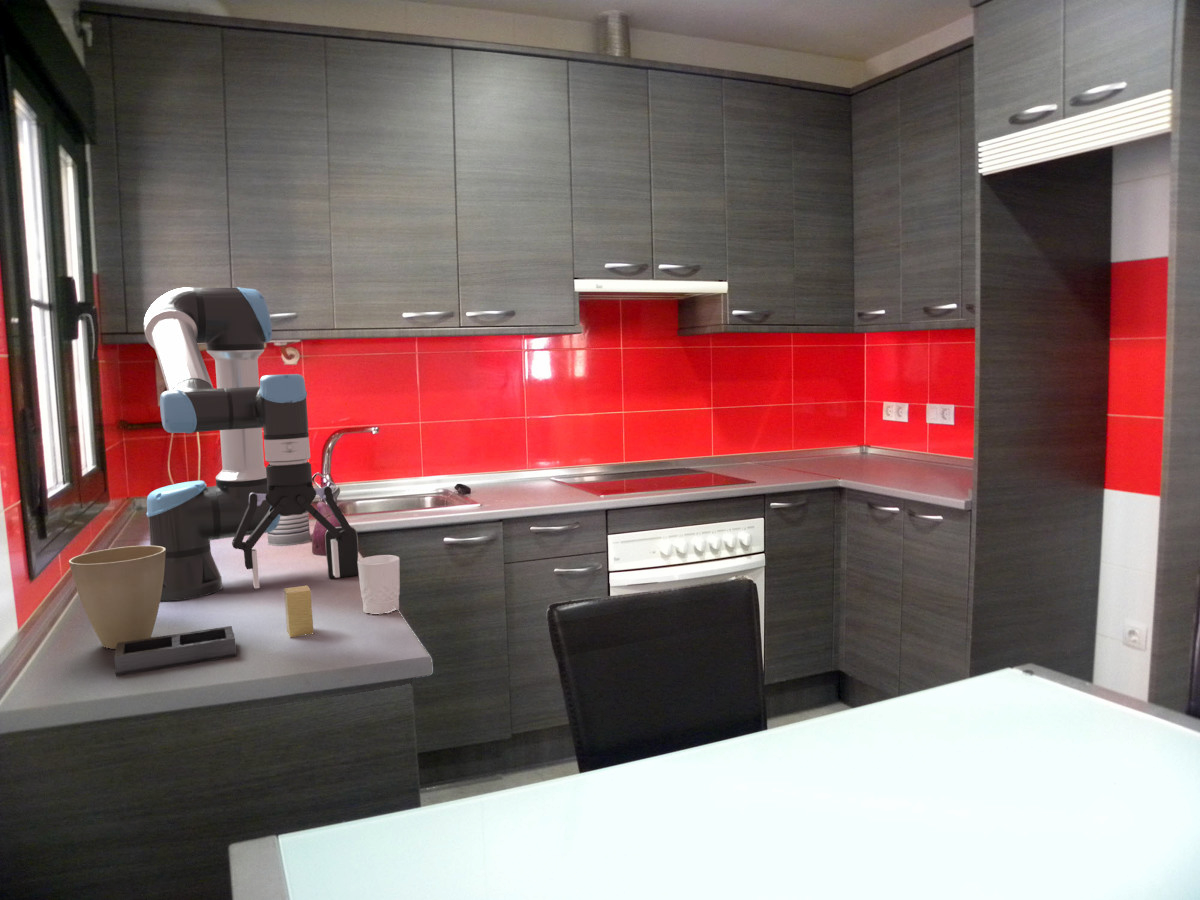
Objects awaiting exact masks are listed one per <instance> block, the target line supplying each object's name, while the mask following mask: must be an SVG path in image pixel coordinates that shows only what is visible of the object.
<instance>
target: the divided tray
mask: <svg viewBox="0 0 1200 900" xmlns="http://www.w3.org/2000/svg"><path fill="white" fill-rule="evenodd" d="M236 645H237V644H236V637H235V634H234V629H233V626H232V625H229V626H222V627H215V628H209V629H208V628H207V629H202V630H194V631H188V632H181V633H174V634H169V635H168V634H167V635H160V636H154V637H151V638H146V639H140V640H133V641H126V642H120V643H117V645H116V649H115V653H114V669H115V676H116V677H118V676H124V675H130V674H138V673H142V672H149V671H154V670H161V669H166V668H173V667H179V666H185V665H192V664H198V663H204V662H209V661H216V660H217V661H218V660H223V659H229V658H233V657H235V658H236V657H237V649H236V648H237V647H236Z"/></svg>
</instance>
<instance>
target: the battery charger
mask: <svg viewBox="0 0 1200 900" xmlns="http://www.w3.org/2000/svg"><path fill="white" fill-rule="evenodd" d="M350 526H351V528H352V530H353V535H351V536H348V537H346V538H345V539H344V541H343V542H344V557H341V558H339V571H340V577H335V576H334V575H333V567H332V552H331V539H335V537H334V536H333V535H332V534H331V533H330V532H329V531H328V530H327V531H326V534H325V546H326V555H325V556H326V563H327V578H328V579H338V578H339V579H340V578H347V577H356V576H359V573H358V563H357V561H358V560H359V539H358V532H357V530H356V529H355V527H354V526H352V525H350ZM335 528H336V529H337V530H338V531H341V530H343V529H342V527H341V526H337V527H335Z"/></svg>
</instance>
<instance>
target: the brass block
mask: <svg viewBox="0 0 1200 900" xmlns="http://www.w3.org/2000/svg"><path fill="white" fill-rule="evenodd" d="M283 592H284V603H285V606H284V607H285V619H286V620H285V621H286V631H287V632H288V633H287V632H286V633H287V635H288V634H289V635H288V637H289V636H290V637H293V638H296V637H295V636H299V637H301V636H300V635H305V634H312V633H314V620H313V607H312V606H313V605H312V592H311V588H310V587H309V585H302V586H294V587H286V588H283ZM312 635H313V634H312ZM305 636H306V635H305ZM290 637H289V638H290Z"/></svg>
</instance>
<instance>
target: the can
mask: <svg viewBox="0 0 1200 900" xmlns="http://www.w3.org/2000/svg"><path fill="white" fill-rule="evenodd" d="M309 515H310V513H309V512H308V511H306V512H305V513H303V514H301V515H295V514H292V515H289V516H282V515H281V517H280V521H279V523H278V526H277V527H276V529H274V530H273V531H272V532H268V533H267V540H268V541H267V543H268V546H273V547H284V546H285V547H289V546H295V545H302V544H306V543H309V542H310V541H311V531H310V517H309Z"/></svg>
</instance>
